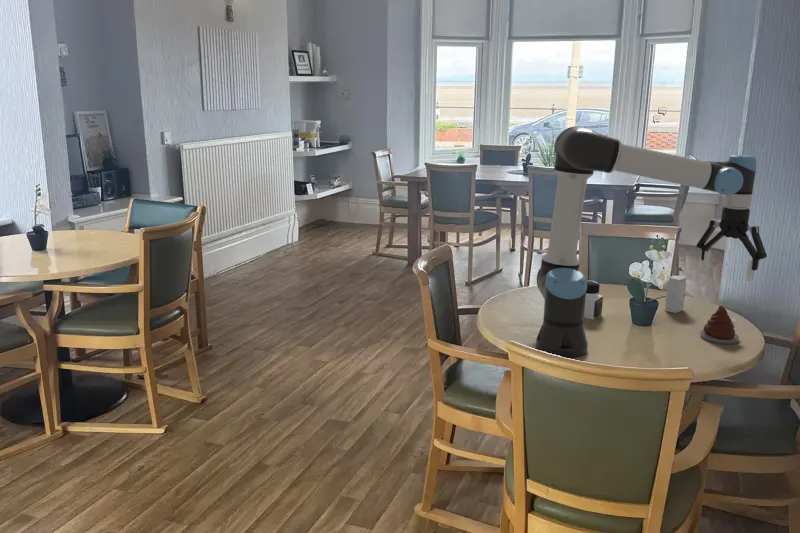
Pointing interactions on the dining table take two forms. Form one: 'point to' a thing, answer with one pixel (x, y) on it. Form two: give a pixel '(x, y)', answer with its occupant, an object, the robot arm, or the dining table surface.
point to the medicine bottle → (593, 301)
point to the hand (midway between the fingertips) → (727, 275)
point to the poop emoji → (721, 325)
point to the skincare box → (675, 294)
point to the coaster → (718, 341)
